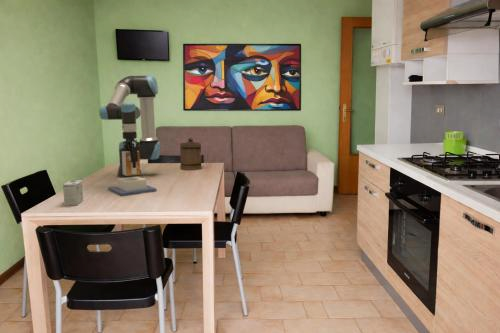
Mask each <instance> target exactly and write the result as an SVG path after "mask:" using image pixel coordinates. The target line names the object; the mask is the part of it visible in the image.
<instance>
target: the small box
mask: <svg viewBox="0 0 500 333" xmlns="http://www.w3.org/2000/svg"><path fill="white" fill-rule="evenodd" d="M137 154H138V161H137V162H136V171H137V173H136V174H131V162H130V161H131V152H130V151H122V168H123V175H126V176H128V175H140V170H141V160H140V155H139V151H137ZM140 176H141V175H140Z"/></svg>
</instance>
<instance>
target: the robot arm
mask: <svg viewBox="0 0 500 333" xmlns="http://www.w3.org/2000/svg"><path fill="white" fill-rule="evenodd" d="M158 93H159V87H158V81H157V79H156V77H155V76H154V75H129V76H126V77H123V78H122V79H120V80H119V81H118V82H117V83H116V85H115V86H114V92H113V93H112V95H111V97H110V99H109V101H108V103H107V104H106V105H104V106H100V108H99V118H100V119H101V120H103V121H105V120H106V121H109V120H110V121H116V120H119V121H120V120H121V129H122V139H123V141H121V142H119V143H118V152H119V155H118V156H119V166H118V170H117V177H119V178H129V177H140V176H142V170H141V169H140V175H128V176H126V175H123V168H122V151H130V152H131V161H130V162H131V174H136V173H137V171H136V162H137V161H138V154H137V151H139V155H140V161H141V160H143V161H144V160H158V159H159V158H160V155H161V148H162V146H161V145H162V143H161V141H159V138H158V137H157V136H156V126H155V106H154V105H155V104H154V99H155V98H156V95H158ZM129 95H136V98H137V99H138V100H139V107H138V106H136V103H134V102H126V103H124V102H125V100H126V98H127V97H128V96H129ZM139 118H140V127H141V128H140V130H141V137H140V138H139V141H138V140H137V138H138V135H137V120H138V119H139Z"/></svg>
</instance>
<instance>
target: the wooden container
mask: <svg viewBox="0 0 500 333" xmlns="http://www.w3.org/2000/svg"><path fill="white" fill-rule="evenodd" d="M187 140H188V141H187V142H182V143H180V148H179V149H180V156H179V157H180V159H179V160H180V170H183V171H197V170H201V169H202V143H201V142H196V141H193V140H194V139H193V138H192V137H189V138H188V139H187Z"/></svg>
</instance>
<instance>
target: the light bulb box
mask: <svg viewBox="0 0 500 333" xmlns="http://www.w3.org/2000/svg"><path fill="white" fill-rule="evenodd" d="M62 187H63V188H62V191H63V203H64V206H67V207H68V206H69V207H70V206H79V204H81V203H82V202H83V201H84V192H83V180H82V179H77V180H75V179H74V180H70V179H69V180H68V181H67V182H65V183H64V184H62Z"/></svg>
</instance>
